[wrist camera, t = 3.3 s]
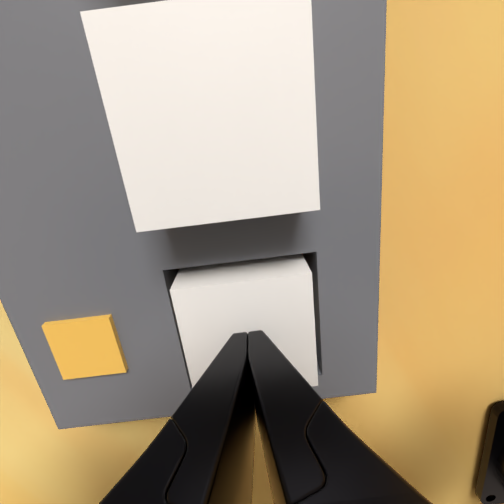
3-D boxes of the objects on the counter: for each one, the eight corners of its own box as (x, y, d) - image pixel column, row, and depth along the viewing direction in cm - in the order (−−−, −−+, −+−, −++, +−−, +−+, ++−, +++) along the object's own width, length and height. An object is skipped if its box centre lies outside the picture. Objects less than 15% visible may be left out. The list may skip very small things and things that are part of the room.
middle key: (296, 187, 9) (319, 209, 6) (168, 202, 9) (136, 232, 6) (285, 36, 8) (310, -19, 5) (137, 55, 8) (80, 12, 5)
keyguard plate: (352, 346, 13) (378, 397, 11) (91, 377, 13) (55, 434, 11) (347, -338, 7) (408, -613, 4) (-149, -268, 7) (-370, -498, 4)
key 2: (301, 329, 12) (318, 385, 10) (205, 340, 13) (195, 399, 10) (294, 238, 11) (311, 273, 8) (187, 251, 11) (169, 290, 8)
